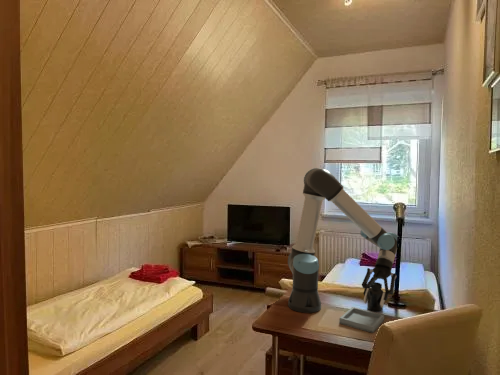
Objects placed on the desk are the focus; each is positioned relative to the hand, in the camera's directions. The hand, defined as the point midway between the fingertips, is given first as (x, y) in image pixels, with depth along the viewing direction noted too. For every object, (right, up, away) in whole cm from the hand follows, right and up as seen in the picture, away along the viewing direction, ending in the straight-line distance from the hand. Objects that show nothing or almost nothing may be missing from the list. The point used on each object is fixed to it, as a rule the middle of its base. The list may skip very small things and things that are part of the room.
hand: (372, 304), depth 167 cm
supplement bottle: (+2, -4, +3) cm, 5 cm away
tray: (-8, -4, -11) cm, 14 cm away
